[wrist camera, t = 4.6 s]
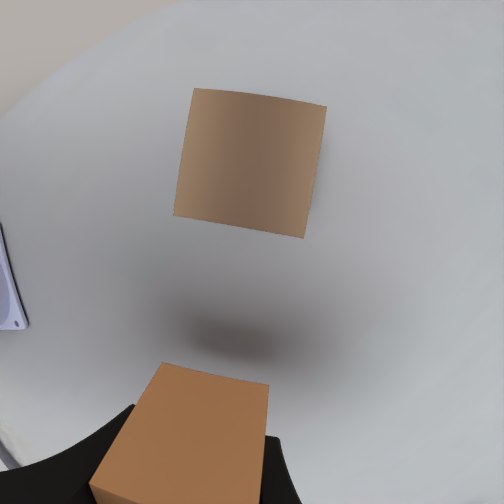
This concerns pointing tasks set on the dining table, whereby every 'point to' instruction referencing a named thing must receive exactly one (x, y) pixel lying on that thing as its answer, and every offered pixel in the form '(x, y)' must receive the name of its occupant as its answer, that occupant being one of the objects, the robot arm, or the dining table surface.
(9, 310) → the robot arm
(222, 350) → the dining table surface
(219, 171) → the walnut block
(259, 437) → the orange block
